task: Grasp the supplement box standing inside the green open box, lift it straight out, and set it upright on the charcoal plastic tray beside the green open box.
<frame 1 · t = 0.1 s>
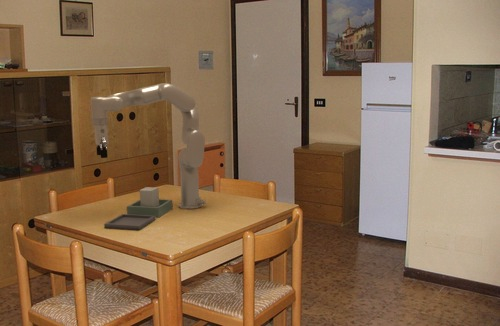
hand: (102, 156, 285), 31 cm above the table, tool pointing down, fingers open, 9 cm apart
green open box: (150, 212, 298), on the table
supplement box: (150, 212, 298), resting in green open box
tray: (130, 224, 277), on the table
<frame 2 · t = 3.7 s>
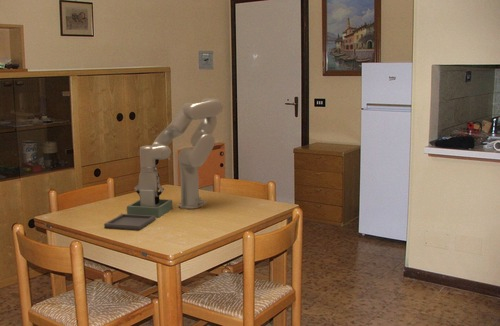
hand: (149, 203, 297), 5 cm above the table, tool pointing down, fingers closed on supplement box, 7 cm apart
supplement box: (150, 212, 298), resting in green open box, touching gripper
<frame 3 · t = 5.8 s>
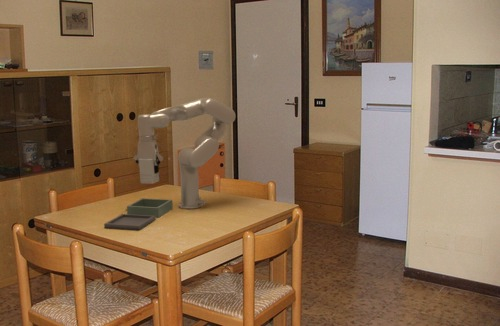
hand: (149, 172, 294), 21 cm above the table, tool pointing down, fingers closed on supplement box, 7 cm apart
supplement box: (149, 182, 295), point 16 cm above the table, touching gripper
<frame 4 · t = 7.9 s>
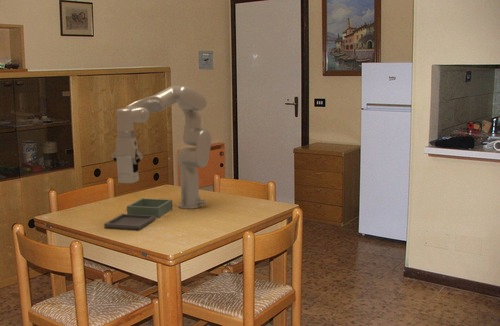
hand: (127, 171, 272), 26 cm above the table, tool pointing down, fingers closed on supplement box, 7 cm apart
supplement box: (128, 182, 273), point 21 cm above the table, touching gripper
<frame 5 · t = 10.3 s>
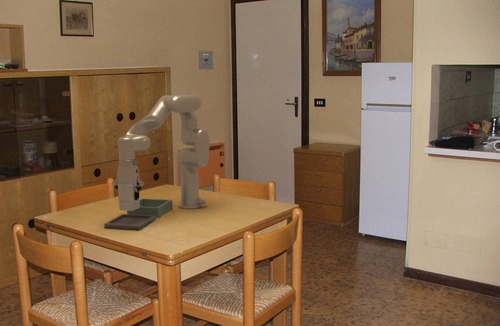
hand: (129, 199, 275), 12 cm above the table, tool pointing down, fingers closed on supplement box, 7 cm apart
supplement box: (129, 209, 275), point 7 cm above the table, touching gripper
when the fingers open (8 cm above the table, at t = 12.3 s): supplement box drops 2 cm, resting on tray.
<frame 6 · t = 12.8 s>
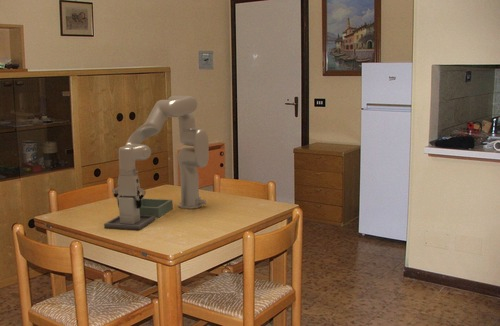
hand: (129, 207, 275), 8 cm above the table, tool pointing down, fingers open, 9 cm apart
supplement box: (130, 222, 277), point 1 cm above the table, touching tray
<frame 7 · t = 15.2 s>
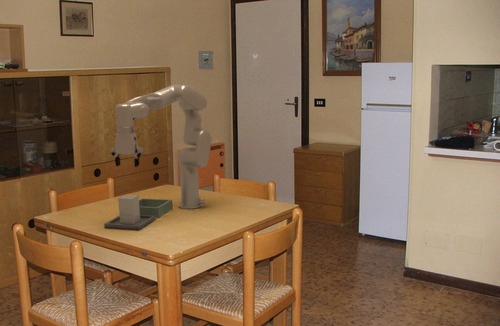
hand: (127, 166, 273), 28 cm above the table, tool pointing down, fingers open, 9 cm apart
nothing on the table moved.
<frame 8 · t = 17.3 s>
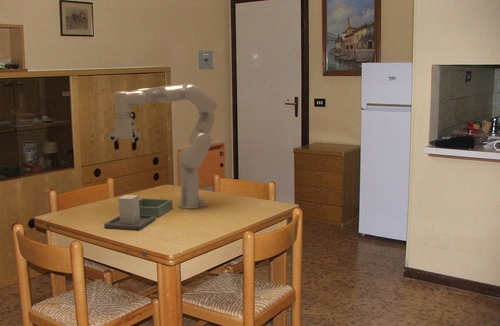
hand: (125, 149, 291), 33 cm above the table, tool pointing down, fingers open, 9 cm apart
nothing on the table moved.
at the end: supplement box inside the target area on the tray (0.3 cm from its centre), point 0.8 cm above the tray's base; supplement box tilted 0°; the gripper is holding nothing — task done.
